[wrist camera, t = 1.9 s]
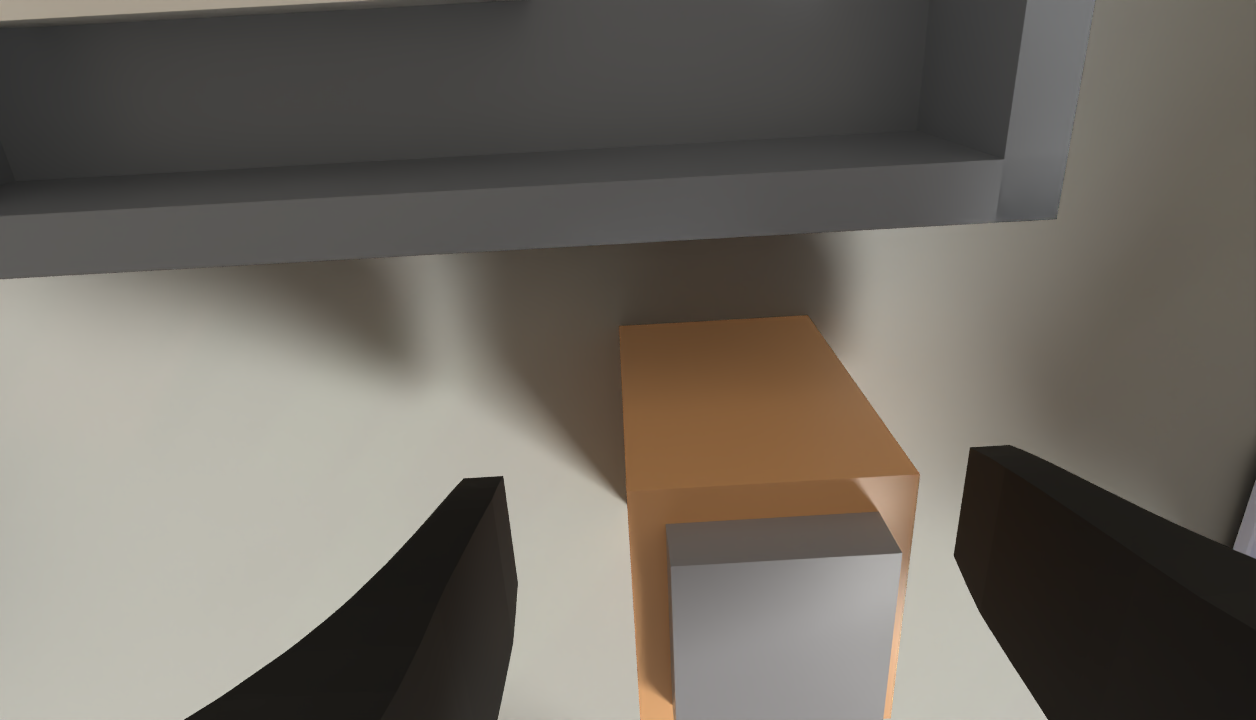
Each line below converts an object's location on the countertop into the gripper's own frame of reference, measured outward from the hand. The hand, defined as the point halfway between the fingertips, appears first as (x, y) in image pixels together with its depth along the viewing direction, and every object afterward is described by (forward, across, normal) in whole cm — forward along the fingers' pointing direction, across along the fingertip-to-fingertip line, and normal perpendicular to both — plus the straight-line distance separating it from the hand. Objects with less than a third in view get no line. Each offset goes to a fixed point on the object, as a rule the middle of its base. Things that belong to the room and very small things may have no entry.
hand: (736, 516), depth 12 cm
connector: (+3, 0, 0) cm, 3 cm away
